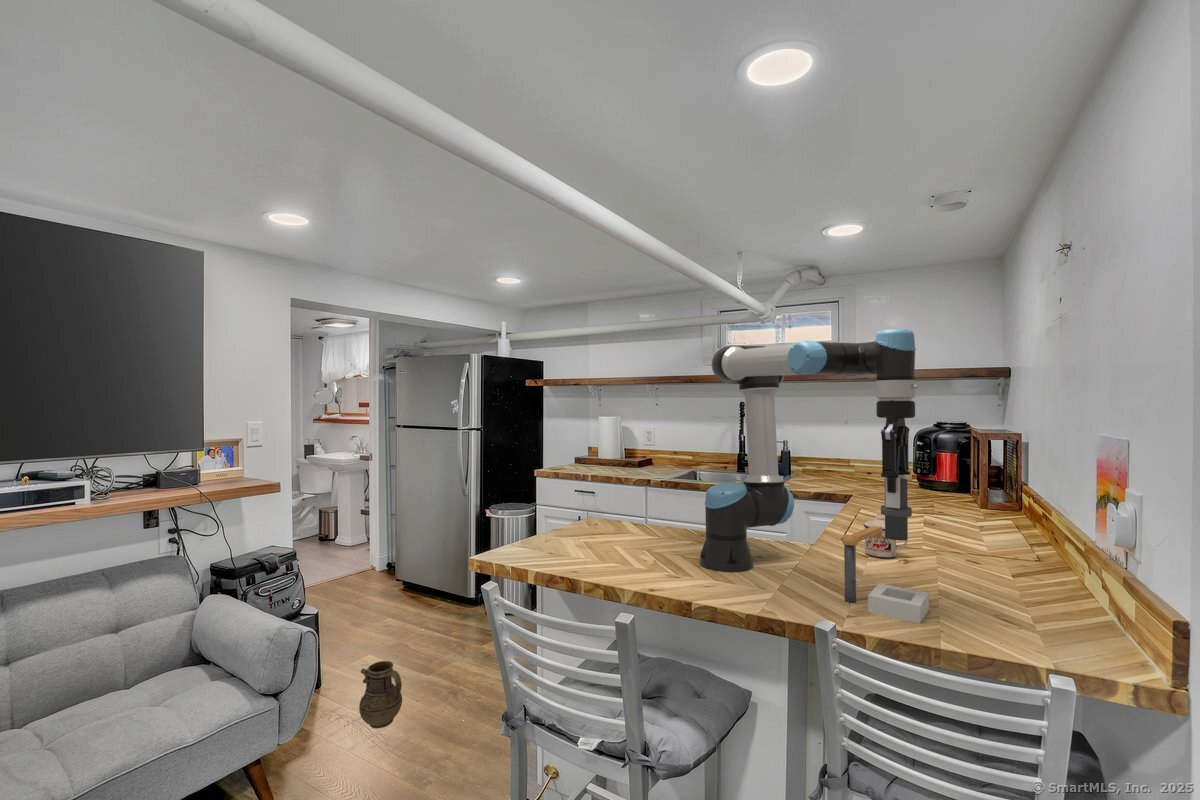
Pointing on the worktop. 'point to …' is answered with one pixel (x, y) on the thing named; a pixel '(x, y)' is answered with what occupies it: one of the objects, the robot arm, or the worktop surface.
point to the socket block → (898, 602)
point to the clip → (862, 535)
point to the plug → (897, 516)
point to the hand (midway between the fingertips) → (895, 505)
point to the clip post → (850, 573)
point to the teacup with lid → (880, 541)
